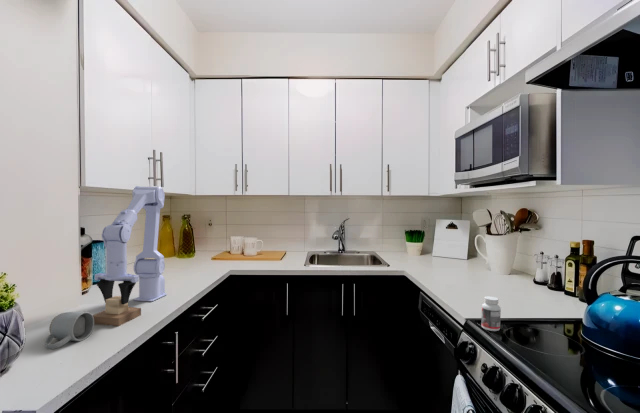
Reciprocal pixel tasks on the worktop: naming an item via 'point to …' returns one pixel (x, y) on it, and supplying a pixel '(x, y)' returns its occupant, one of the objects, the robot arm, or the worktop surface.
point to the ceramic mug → (70, 328)
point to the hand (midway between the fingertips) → (116, 302)
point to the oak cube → (115, 305)
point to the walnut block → (116, 317)
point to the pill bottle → (491, 314)
